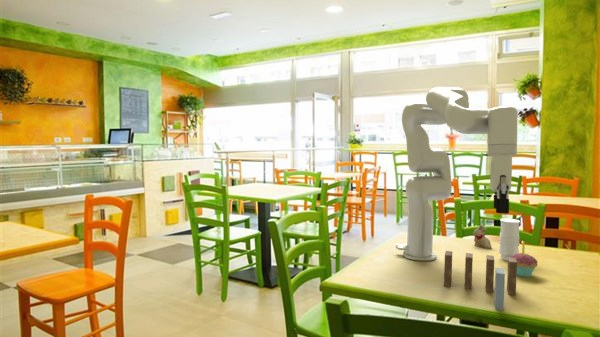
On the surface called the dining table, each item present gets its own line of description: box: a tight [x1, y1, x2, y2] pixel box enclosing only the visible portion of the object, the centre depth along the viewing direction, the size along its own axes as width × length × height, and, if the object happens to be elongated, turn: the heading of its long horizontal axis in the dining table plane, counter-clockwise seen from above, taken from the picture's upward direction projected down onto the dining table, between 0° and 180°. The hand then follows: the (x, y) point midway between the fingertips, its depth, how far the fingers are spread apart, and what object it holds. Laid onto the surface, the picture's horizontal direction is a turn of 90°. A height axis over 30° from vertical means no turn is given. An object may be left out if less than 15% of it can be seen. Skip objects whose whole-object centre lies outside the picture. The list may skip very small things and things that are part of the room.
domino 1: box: [443, 250, 453, 288], centre depth 130 cm, size 2×5×10 cm, turn 157°
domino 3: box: [485, 254, 495, 294], centre depth 125 cm, size 2×5×10 cm, turn 157°
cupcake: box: [511, 240, 538, 278], centre depth 139 cm, size 9×8×12 cm
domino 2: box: [464, 252, 474, 291], centre depth 128 cm, size 2×5×10 cm, turn 157°
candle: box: [498, 218, 521, 262], centre depth 158 cm, size 7×7×15 cm
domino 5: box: [506, 257, 518, 297], centre depth 123 cm, size 2×5×10 cm, turn 157°
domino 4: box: [494, 267, 506, 311], centre depth 113 cm, size 2×5×10 cm, turn 157°
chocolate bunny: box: [472, 223, 492, 250], centre depth 176 cm, size 6×8×10 cm
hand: (500, 210), depth 117 cm, fingers open, 9 cm apart
